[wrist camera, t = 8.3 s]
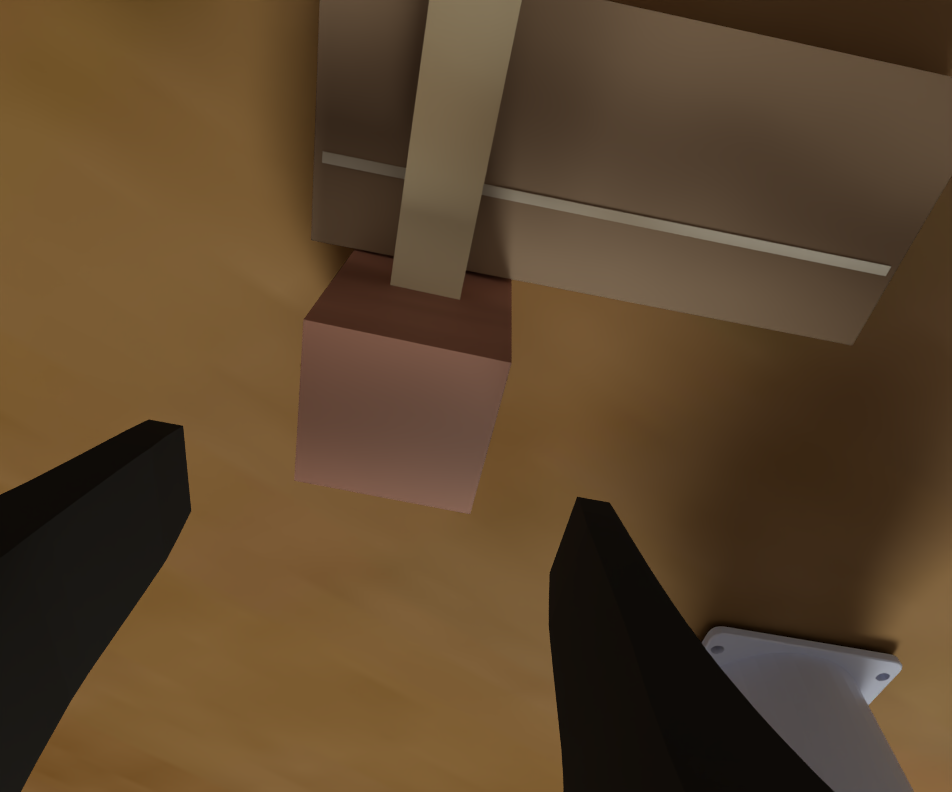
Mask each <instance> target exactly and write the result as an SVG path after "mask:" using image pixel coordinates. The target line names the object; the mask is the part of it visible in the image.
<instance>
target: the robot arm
mask: <svg viewBox="0 0 952 792" xmlns="http://www.w3.org/2000/svg"><path fill="white" fill-rule="evenodd" d="M190 512H191V504H190V494H189V483H188V473H187V462H186V452H185V441H184V431H183V426H181V425H176V424H170V423H165V422H159V421H153V420H147V421H145V422H143V423H141V424H138V425H136V426H134V427H132V428H130V429H128V430H126V431H124V432H122V433H121V434H119V435H117V436H115V437H113V438H111V439H109V440H107V441H105V442H103V443H101V444H100V445H98V446H96V447H94V448H92V449H90V450H88V451H86V452H84V453H83V454H81V455H79V456H77V457H75V458H73V459H71V460H69V461H67V462H65V463H63V464H61V465H59V466H57V467H55V468H54V469H52V470H50V471H48V472H46V473H44V474H42V475H40V476H38V477H36V478H34V479H32V480H30V481H28V482H26V483H24V484H22V485H20V486H18V487H16V488H14V489H12V490H9V491H7V492H5V493H3V494H1V495H0V792H21V790H22V788H23V787H24V785H25V783H26V781H27V779H28V777H29V775H30V773H31V771H32V770H33V768H34V766H35V764H36V762H37V760H38V758H39V757H40V755H41V753H42V751H43V750H44V748H45V746H46V744H47V742H48V741H49V739H50V737H51V735H52V734H53V732H54V730H55V728H56V726H57V725H58V723H59V721H60V719H61V717H62V716H63V714H64V712H65V710H66V709H67V707H68V705H69V703H70V702H71V700H72V698H73V697H74V695H75V694H76V692H77V690H78V689H79V687H80V686H81V684H82V683H83V681H84V679H85V678H86V676H87V675H88V673H89V672H90V670H91V669H92V667H93V666H94V665H95V663H96V662H97V660H98V659H99V657H100V656H101V654H102V653H103V652H104V650H105V649H106V647H107V646H108V644H109V643H110V641H111V640H112V638H113V637H114V636H115V634H116V633H117V631H118V630H119V628H120V627H121V625H122V624H123V623H124V621H125V620H126V618H127V617H128V615H129V614H130V612H131V611H132V610H133V608H134V607H135V605H136V604H137V602H138V601H139V599H140V598H141V597H142V595H143V594H144V592H145V591H146V589H147V588H148V586H149V585H150V583H151V582H152V580H153V579H154V577H155V576H156V574H157V573H158V571H159V570H160V568H161V567H162V565H163V564H164V562H165V561H166V559H167V557H168V555H169V554H170V552H171V550H172V548H173V546H174V544H175V542H176V540H177V538H178V536H179V534H180V532H181V530H182V528H183V526H184V524H185V522H186V520H187V518H188V516H189V514H190ZM549 633H550V643H551V653H552V663H553V673H554V683H555V692H556V702H557V711H558V721H559V730H560V740H561V749H562V765H563V785H564V792H914V791H913V789H912V787H911V785H910V783H909V781H908V780H907V778H906V776H905V774H904V772H903V770H902V768H901V766H900V764H899V763H898V761H897V759H896V757H895V755H894V753H893V751H892V749H891V747H890V746H889V744H888V742H887V740H886V738H885V736H884V734H883V732H882V730H881V729H880V727H879V725H878V723H877V721H876V719H875V717H874V715H873V713H872V712H871V710H870V708H869V706H868V705H869V704H870V703H871V702H872V701H873V700H874V699H875V698H876V696H877V695H878V694H879V693H880V692H881V691H882V690H883V689H884V688H885V687H886V686H887V685H888V684H889V683H890V682H891V681H892V680H893V678H894V677H895V676H896V675H897V674H898V673H899V672H900V671H901V669H902V664H901V663H900V661H899V659H898V658H897V657H896V656H894V655H891V654H886V653H880V652H874V651H868V650H862V649H856V648H850V647H844V646H838V645H832V644H826V643H820V642H814V641H808V640H802V639H796V638H790V637H784V636H779V635H773V634H767V633H761V632H755V631H749V630H743V629H737V628H731V627H725V626H718V627H714V628H712V629H711V630H710V631H709V632H708V633H707V635H706V636H705V638H704V640H703V641H702V643H701V642H700V640H699V639H698V638H697V636H696V635H695V634H694V632H693V631H692V630H691V628H690V627H689V626H688V624H687V623H686V621H685V620H684V619H683V617H682V616H681V614H680V613H679V611H678V610H677V609H676V607H675V606H674V604H673V603H672V601H671V600H670V598H669V597H668V595H667V594H666V592H665V591H664V589H663V588H662V586H661V585H660V583H659V582H658V580H657V579H656V577H655V575H654V574H653V572H652V571H651V569H650V568H649V566H648V564H647V563H646V561H645V560H644V558H643V556H642V555H641V553H640V552H639V550H638V548H637V547H636V545H635V543H634V542H633V540H632V538H631V537H630V535H629V533H628V532H627V530H626V529H625V527H624V525H623V524H622V522H621V520H620V519H619V517H618V515H617V514H616V512H615V510H614V509H613V507H612V506H611V504H610V503H609V502H603V501H597V500H592V499H586V498H581V497H577V499H576V502H575V504H574V507H573V510H572V513H571V516H570V518H569V521H568V524H567V527H566V529H565V532H564V535H563V538H562V540H561V543H560V546H559V549H558V552H557V554H556V557H555V560H554V563H553V565H552V568H551V571H550V582H549Z"/></svg>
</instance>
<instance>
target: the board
mask: <svg viewBox="0 0 952 792" xmlns="http://www.w3.org/2000/svg"><path fill="white" fill-rule="evenodd" d="M428 6H429V0H320V5H319V33H318V62H317V90H316V119H315V147H314V176H313V204H312V232H311V240H313V241H318V242H323V243H328V244H334V245H339V246H344V247H349V248H354V249H359V250H364V251H370V252H375V253H380V254H385V255H390V256H394V253H395V246H396V239H397V231H398V224H399V217H400V209H401V202H402V195H403V188H404V180H405V173H406V166H407V159H408V151H409V144H410V137H411V130H412V122H413V115H414V108H415V100H416V93H417V86H418V79H419V71H420V64H421V57H422V50H423V42H424V35H425V28H426V20H427V13H428ZM951 176H952V77H950V76H946V75H941V74H937V73H932V72H928V71H923V70H919V69H914V68H910V67H905V66H901V65H896V64H892V63H887V62H883V61H878V60H874V59H869V58H865V57H860V56H855V55H851V54H846V53H842V52H837V51H833V50H828V49H824V48H819V47H815V46H810V45H806V44H801V43H797V42H792V41H788V40H783V39H779V38H774V37H770V36H765V35H760V34H756V33H751V32H747V31H742V30H738V29H733V28H729V27H724V26H720V25H715V24H711V23H706V22H702V21H697V20H693V19H688V18H684V17H679V16H675V15H670V14H665V13H661V12H656V11H652V10H647V9H643V8H638V7H634V6H629V5H625V4H620V3H616V2H611V1H607V0H522V2H521V7H520V11H519V16H518V21H517V26H516V31H515V36H514V40H513V45H512V50H511V55H510V60H509V65H508V69H507V74H506V79H505V84H504V89H503V94H502V98H501V103H500V108H499V113H498V118H497V123H496V127H495V132H494V137H493V142H492V147H491V152H490V156H489V161H488V166H487V171H486V176H485V181H484V185H483V190H482V195H481V200H480V205H479V210H478V214H477V219H476V224H475V229H474V234H473V239H472V243H471V248H470V253H469V258H468V263H467V268H466V270H467V271H472V272H477V273H482V274H488V275H493V276H498V277H503V278H508V279H513V280H518V281H524V282H529V283H534V284H539V285H544V286H549V287H554V288H559V289H565V290H570V291H575V292H580V293H585V294H590V295H595V296H601V297H606V298H611V299H616V300H621V301H626V302H631V303H636V304H642V305H647V306H652V307H657V308H662V309H667V310H672V311H678V312H683V313H688V314H693V315H698V316H703V317H708V318H713V319H719V320H724V321H729V322H734V323H739V324H744V325H749V326H755V327H760V328H765V329H770V330H775V331H780V332H785V333H790V334H796V335H801V336H806V337H811V338H816V339H821V340H826V341H832V342H837V343H842V344H847V345H853V343H854V342H855V340H856V338H857V337H858V335H859V333H860V332H861V330H862V328H863V326H864V325H865V323H866V321H867V320H868V318H869V316H870V314H871V313H872V311H873V309H874V308H875V306H876V304H877V302H878V301H879V299H880V297H881V296H882V294H883V292H884V291H885V289H886V287H887V285H888V284H889V282H890V280H891V279H892V277H893V275H894V273H895V272H896V270H897V268H898V267H899V265H900V263H901V261H902V260H903V258H904V256H905V255H906V253H907V251H908V250H909V248H910V246H911V244H912V243H913V241H914V239H915V238H916V236H917V234H918V232H919V231H920V229H921V227H922V226H923V224H924V222H925V220H926V219H927V217H928V215H929V214H930V212H931V210H932V209H933V207H934V205H935V203H936V202H937V200H938V198H939V197H940V195H941V193H942V191H943V190H944V188H945V186H946V185H947V183H948V181H949V179H950V178H951Z"/></svg>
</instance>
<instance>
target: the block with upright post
mask: <svg viewBox="0 0 952 792" xmlns="http://www.w3.org/2000/svg"><path fill="white" fill-rule="evenodd" d="M521 2H522V0H429V6H428V13H427V20H426V28H425V35H424V42H423V50H422V57H421V64H420V71H419V79H418V86H417V93H416V100H415V108H414V115H413V122H412V130H411V137H410V144H409V151H408V159H407V166H406V173H405V180H404V188H403V195H402V202H401V209H400V217H399V224H398V231H397V239H396V246H395V253H394V256H390V255H385V254H380V253H375V252H370V251H364V250H359V249H355V250H354V251H353V252H352V254H351V255H350V256H349V258H348V259H347V261H346V262H345V263H344V265H343V266H342V267H341V269H340V270H339V272H338V273H337V274H336V276H335V277H334V279H333V280H332V281H331V283H330V284H329V285H328V287H327V288H326V290H325V291H324V292H323V294H322V295H321V296H320V298H319V299H318V301H317V302H316V303H315V305H314V306H313V307H312V309H311V310H310V312H309V313H308V314H307V316H306V317H305V318H304V322H303V339H302V357H301V374H300V392H299V410H298V427H297V445H296V462H295V480H294V481H300V482H305V483H310V484H315V485H321V486H326V487H331V488H336V489H341V490H347V491H352V492H357V493H362V494H368V495H373V496H378V497H383V498H389V499H394V500H399V501H404V502H410V503H415V504H420V505H425V506H431V507H436V508H441V509H446V510H451V511H457V512H462V513H467V514H470V513H471V509H472V505H473V502H474V498H475V494H476V491H477V487H478V483H479V480H480V476H481V472H482V469H483V465H484V461H485V458H486V454H487V450H488V447H489V443H490V439H491V436H492V432H493V429H494V425H495V421H496V418H497V414H498V410H499V407H500V403H501V399H502V396H503V392H504V388H505V385H506V381H507V377H508V374H509V370H510V366H511V279H508V278H503V277H498V276H493V275H488V274H482V273H477V272H472V271H467V270H466V268H467V263H468V258H469V253H470V248H471V243H472V239H473V234H474V229H475V224H476V219H477V214H478V210H479V205H480V200H481V195H482V190H483V185H484V181H485V176H486V171H487V166H488V161H489V156H490V152H491V147H492V142H493V137H494V132H495V127H496V123H497V118H498V113H499V108H500V103H501V98H502V94H503V89H504V84H505V79H506V74H507V69H508V65H509V60H510V55H511V50H512V45H513V40H514V36H515V31H516V26H517V21H518V16H519V11H520V7H521Z"/></svg>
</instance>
